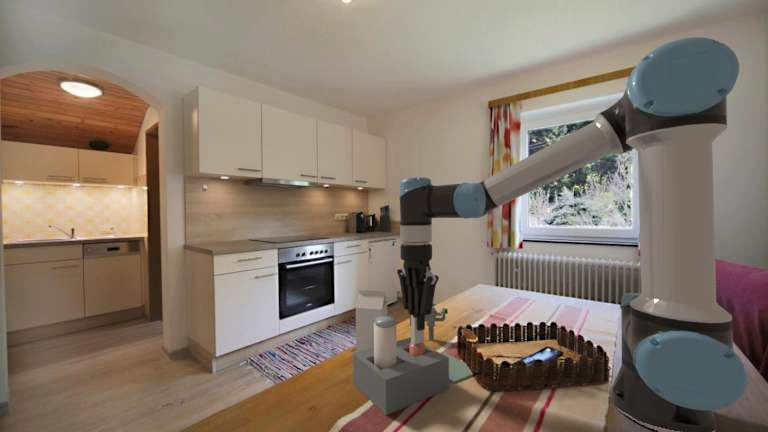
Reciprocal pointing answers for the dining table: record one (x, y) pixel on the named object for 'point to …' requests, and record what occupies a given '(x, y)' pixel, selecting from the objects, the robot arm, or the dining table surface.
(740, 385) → the robot arm
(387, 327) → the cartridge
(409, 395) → the housing
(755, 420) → the dining table surface
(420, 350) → the pink egg shape
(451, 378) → the mat
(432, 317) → the mechanical component
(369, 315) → the milk carton
